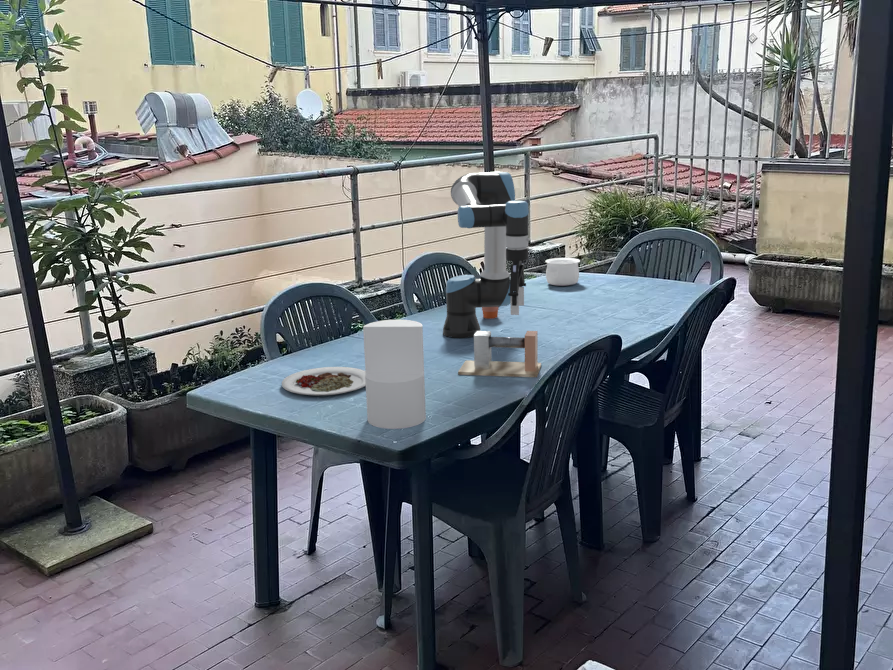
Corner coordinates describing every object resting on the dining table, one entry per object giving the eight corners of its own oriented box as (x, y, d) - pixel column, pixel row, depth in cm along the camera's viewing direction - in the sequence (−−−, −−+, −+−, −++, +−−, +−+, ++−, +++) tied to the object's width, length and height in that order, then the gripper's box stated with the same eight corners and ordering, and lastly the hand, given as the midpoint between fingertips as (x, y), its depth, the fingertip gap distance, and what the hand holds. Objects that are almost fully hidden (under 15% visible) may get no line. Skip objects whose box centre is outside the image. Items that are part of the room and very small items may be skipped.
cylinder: (373, 408, 266) (368, 319, 259) (429, 408, 264) (425, 319, 257) (362, 428, 249) (357, 334, 242) (422, 429, 248) (418, 334, 241)
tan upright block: (524, 371, 296) (524, 335, 293) (527, 365, 302) (527, 330, 299) (535, 371, 295) (535, 336, 292) (537, 365, 301) (537, 331, 298)
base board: (458, 374, 297) (458, 371, 297) (465, 362, 311) (465, 360, 310) (536, 377, 292) (536, 374, 291) (541, 365, 305) (541, 362, 305)
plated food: (380, 393, 281) (380, 383, 280) (287, 404, 273) (286, 394, 272) (362, 368, 309) (362, 359, 308) (277, 377, 301) (276, 368, 300)
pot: (565, 290, 428) (565, 265, 425) (536, 286, 439) (536, 262, 436) (588, 282, 445) (588, 259, 442) (559, 279, 455) (559, 256, 452)
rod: (480, 348, 299) (480, 337, 298) (482, 345, 302) (482, 335, 301) (532, 349, 295) (532, 339, 294) (533, 346, 298) (533, 336, 297)
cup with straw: (490, 320, 371) (489, 279, 366) (475, 317, 378) (474, 276, 373) (505, 317, 377) (504, 276, 372) (490, 313, 383) (490, 273, 379)
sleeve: (474, 368, 300) (473, 335, 297) (477, 363, 305) (476, 330, 302) (488, 369, 299) (488, 335, 296) (491, 364, 304) (491, 331, 301)
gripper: (523, 254, 276) (523, 319, 282) (532, 242, 300) (532, 301, 306) (500, 254, 278) (501, 318, 284) (511, 241, 302) (511, 301, 307)
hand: (517, 310), depth 295 cm, fingers open, 13 cm apart
